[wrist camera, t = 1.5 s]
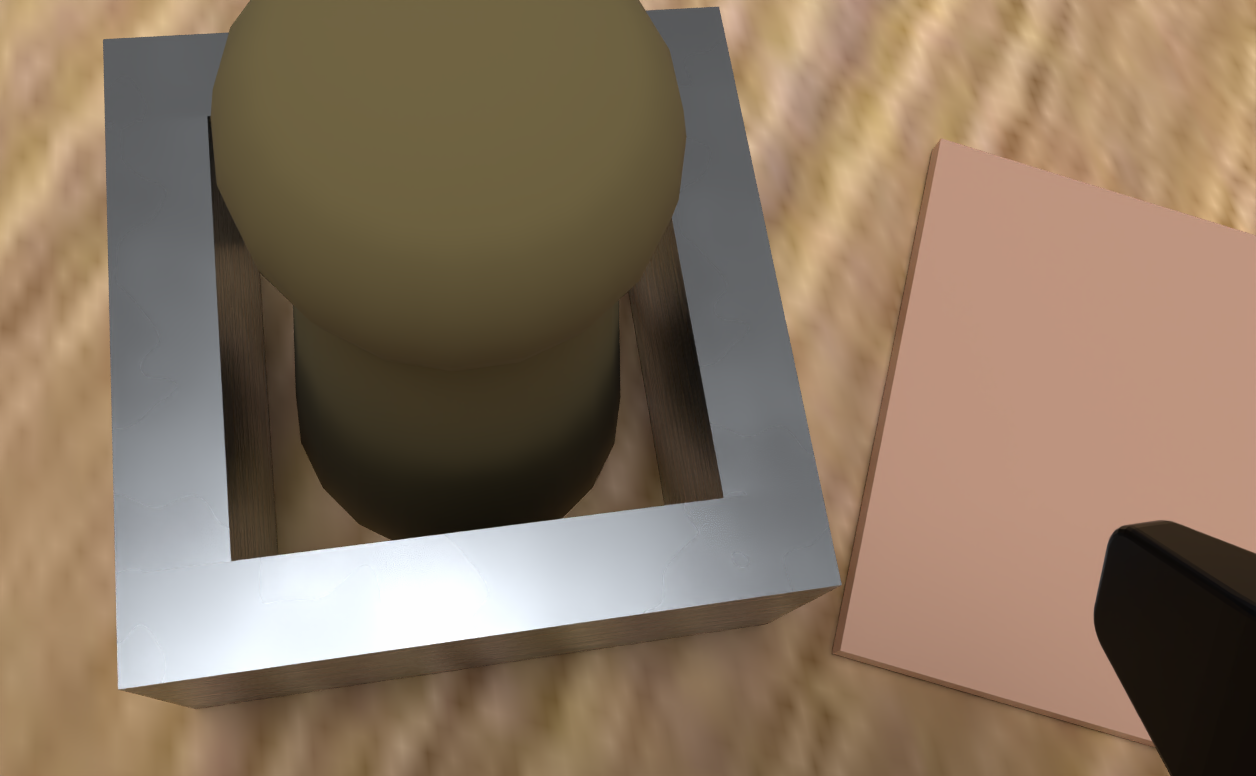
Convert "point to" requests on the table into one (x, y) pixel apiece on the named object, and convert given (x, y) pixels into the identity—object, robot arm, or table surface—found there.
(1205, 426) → the terracotta tile
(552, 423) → the cork
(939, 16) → the table surface
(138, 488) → the metal collar
